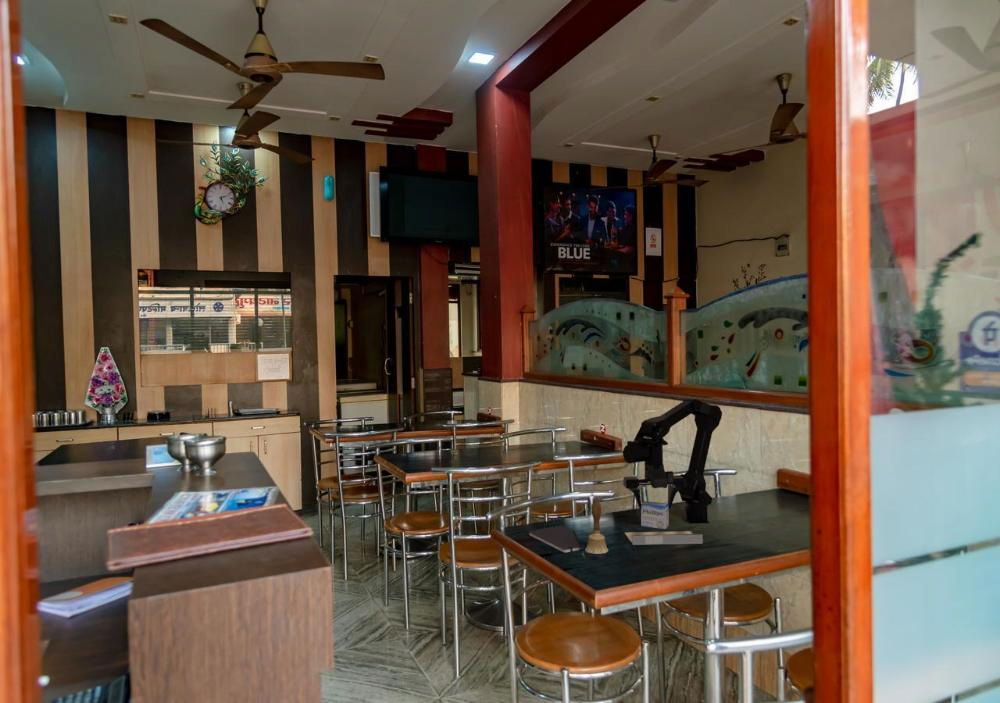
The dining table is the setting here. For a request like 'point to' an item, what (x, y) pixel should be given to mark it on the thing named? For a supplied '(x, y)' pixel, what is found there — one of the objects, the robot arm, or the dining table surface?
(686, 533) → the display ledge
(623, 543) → the dining table surface
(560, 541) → the notebook
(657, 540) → the rail
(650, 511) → the medicine box
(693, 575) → the dining table surface
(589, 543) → the hand bell
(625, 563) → the dining table surface
